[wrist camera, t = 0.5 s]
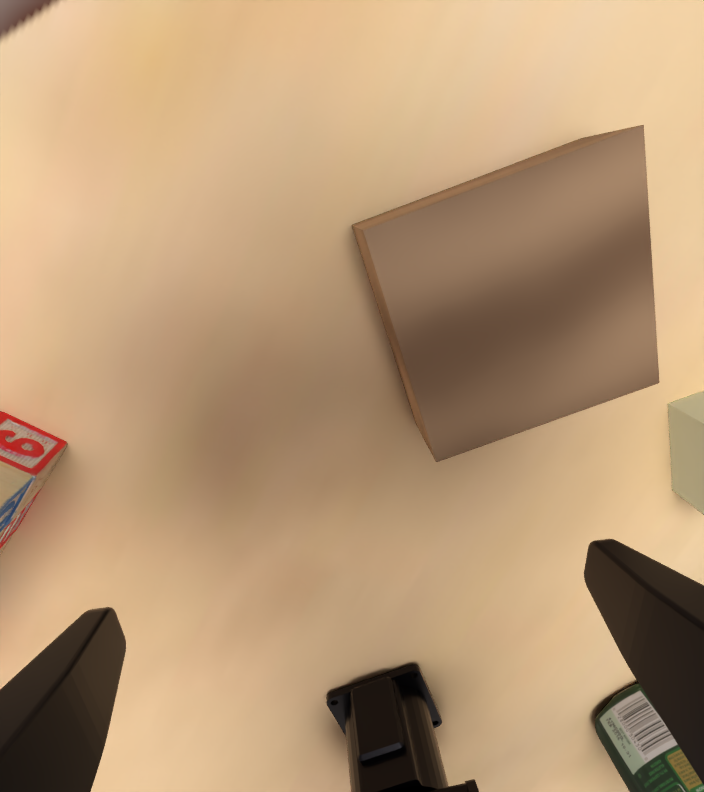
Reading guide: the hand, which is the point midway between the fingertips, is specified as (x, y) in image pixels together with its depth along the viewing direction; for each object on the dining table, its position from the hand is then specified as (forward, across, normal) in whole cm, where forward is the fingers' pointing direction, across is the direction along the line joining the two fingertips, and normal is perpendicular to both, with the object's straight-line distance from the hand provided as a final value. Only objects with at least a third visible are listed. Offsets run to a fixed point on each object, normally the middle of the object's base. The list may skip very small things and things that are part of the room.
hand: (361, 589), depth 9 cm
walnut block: (+14, -8, -2) cm, 16 cm away
